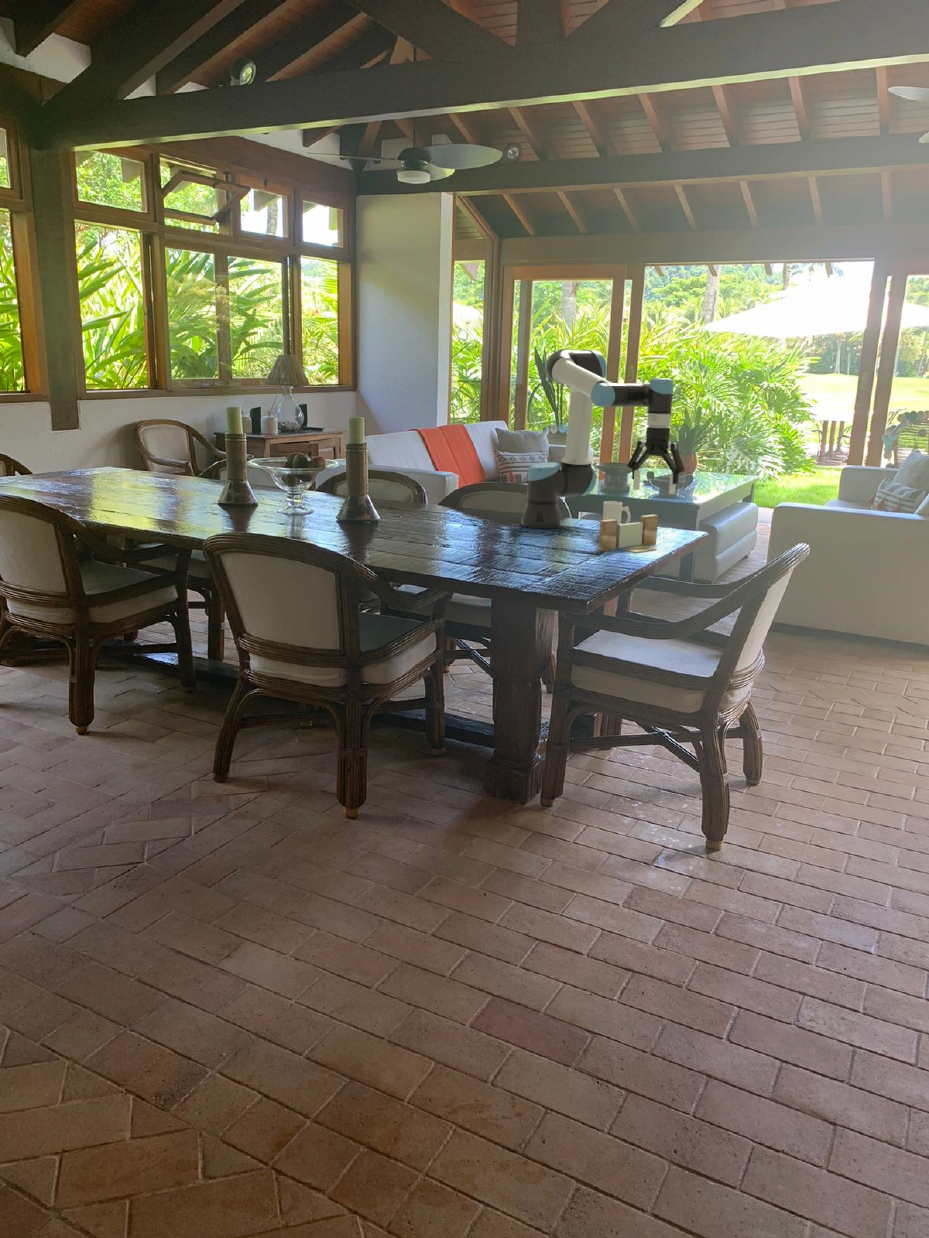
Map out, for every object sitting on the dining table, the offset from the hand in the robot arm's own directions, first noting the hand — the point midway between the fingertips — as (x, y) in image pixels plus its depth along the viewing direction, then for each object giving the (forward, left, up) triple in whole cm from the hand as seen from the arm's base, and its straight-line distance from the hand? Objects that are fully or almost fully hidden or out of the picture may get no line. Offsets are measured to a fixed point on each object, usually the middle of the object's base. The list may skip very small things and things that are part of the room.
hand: (653, 491), depth 310 cm
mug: (-24, +7, -20) cm, 32 cm away
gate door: (-7, -3, -19) cm, 21 cm away
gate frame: (-3, -3, -20) cm, 20 cm away
